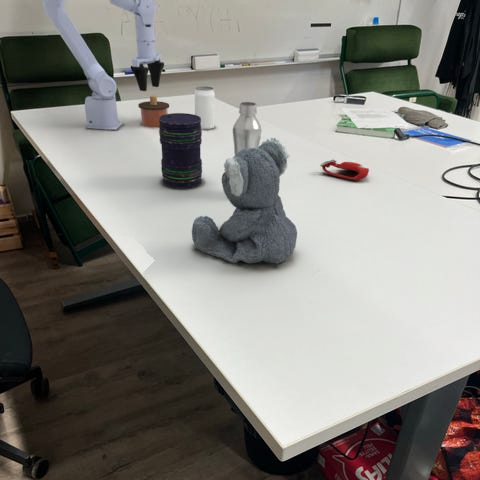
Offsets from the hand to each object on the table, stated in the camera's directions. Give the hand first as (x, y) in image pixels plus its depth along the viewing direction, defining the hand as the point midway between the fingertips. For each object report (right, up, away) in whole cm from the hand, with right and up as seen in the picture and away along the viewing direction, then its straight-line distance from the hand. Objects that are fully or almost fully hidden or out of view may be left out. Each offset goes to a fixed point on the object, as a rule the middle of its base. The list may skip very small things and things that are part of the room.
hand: (149, 88), depth 156 cm
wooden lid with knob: (+1, -5, +1) cm, 6 cm away
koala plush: (+32, -62, -65) cm, 95 cm away
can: (+18, -12, +3) cm, 22 cm away
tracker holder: (+57, -37, -29) cm, 74 cm away
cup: (+1, -10, +4) cm, 11 cm away
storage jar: (+15, -42, -38) cm, 58 cm away
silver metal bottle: (+31, -46, -43) cm, 70 cm away
